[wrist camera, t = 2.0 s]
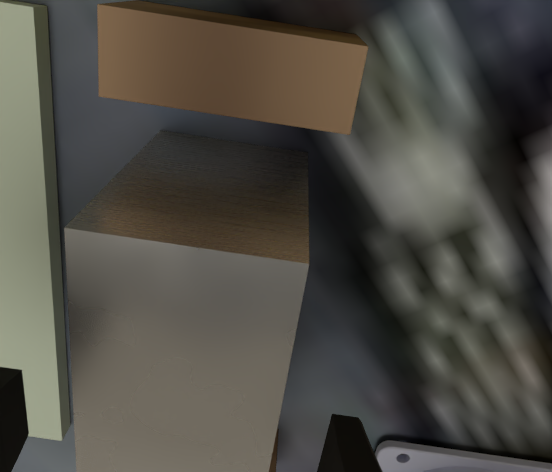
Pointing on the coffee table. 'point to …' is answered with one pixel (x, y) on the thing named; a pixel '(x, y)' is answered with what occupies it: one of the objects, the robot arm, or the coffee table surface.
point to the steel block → (186, 306)
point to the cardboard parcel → (229, 68)
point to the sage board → (31, 222)
